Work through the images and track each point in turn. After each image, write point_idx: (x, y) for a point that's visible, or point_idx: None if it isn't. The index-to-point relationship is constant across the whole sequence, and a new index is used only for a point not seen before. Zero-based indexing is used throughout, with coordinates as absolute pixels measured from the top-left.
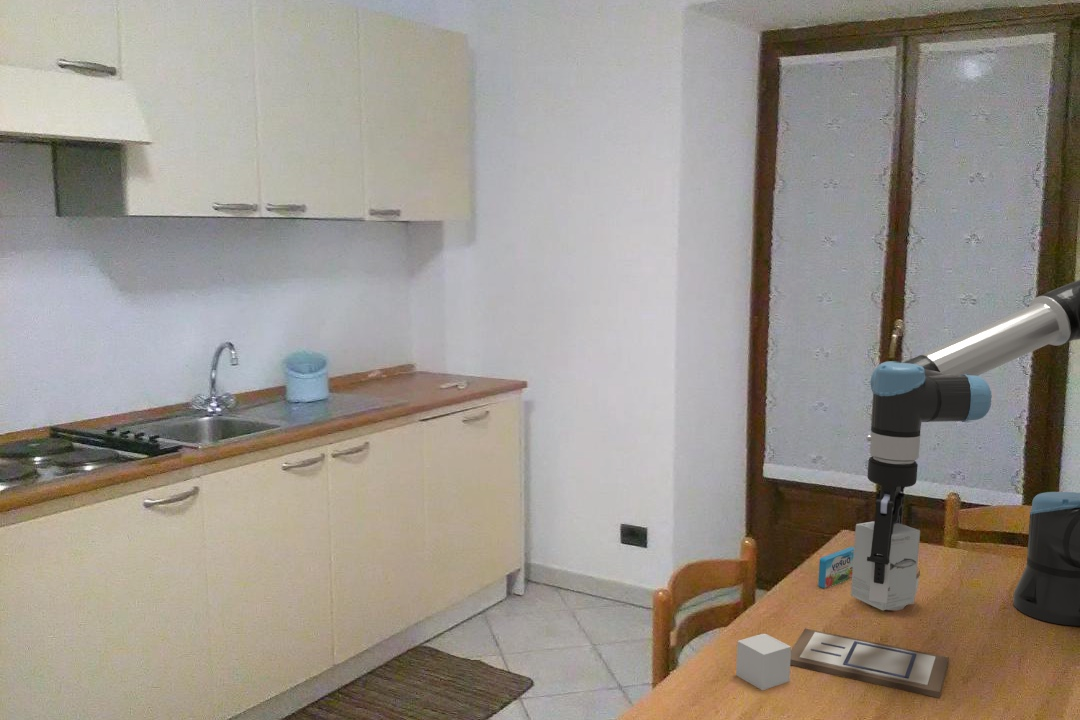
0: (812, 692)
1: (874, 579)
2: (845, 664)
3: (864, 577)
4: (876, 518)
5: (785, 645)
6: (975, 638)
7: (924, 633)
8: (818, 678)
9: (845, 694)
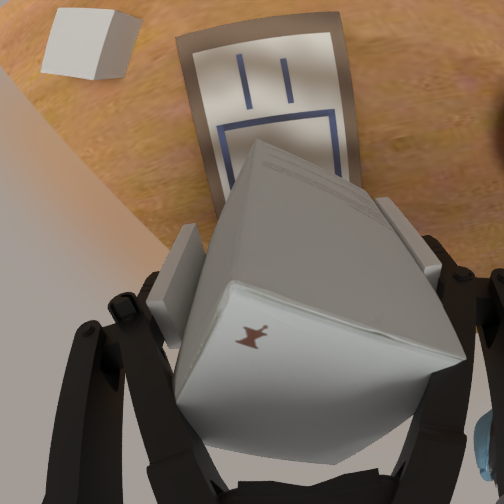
0: (116, 122)
1: (146, 281)
2: (217, 130)
3: (224, 213)
4: (52, 477)
5: (90, 70)
6: (459, 259)
7: (452, 197)
8: (165, 104)
9: (145, 161)
